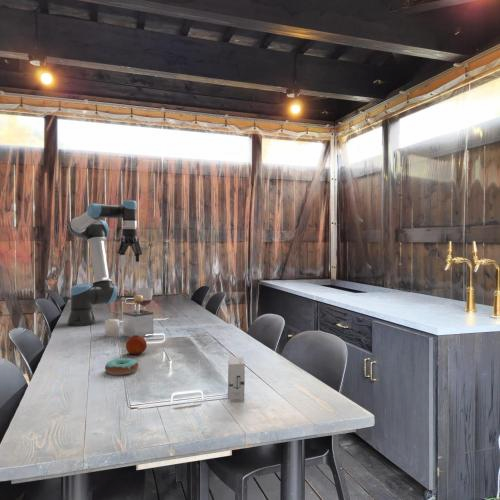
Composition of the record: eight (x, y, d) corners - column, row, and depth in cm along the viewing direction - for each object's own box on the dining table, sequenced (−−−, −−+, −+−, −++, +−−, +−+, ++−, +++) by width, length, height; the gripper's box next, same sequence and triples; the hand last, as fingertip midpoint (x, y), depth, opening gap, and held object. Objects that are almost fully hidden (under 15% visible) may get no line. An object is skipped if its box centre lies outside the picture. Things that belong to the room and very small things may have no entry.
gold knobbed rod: (128, 331, 222) (128, 295, 221) (140, 329, 227) (140, 294, 227) (136, 333, 217) (136, 297, 216) (148, 331, 222) (148, 295, 222)
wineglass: (148, 329, 236) (148, 290, 235) (132, 329, 238) (132, 289, 237) (155, 326, 244) (155, 288, 244) (139, 326, 246) (139, 288, 246)
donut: (111, 367, 166) (111, 356, 166) (142, 367, 166) (142, 357, 166) (99, 376, 154) (99, 365, 154) (132, 377, 154) (132, 366, 154)
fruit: (128, 357, 179) (128, 338, 179) (124, 352, 187) (124, 334, 187) (149, 354, 184) (149, 336, 183) (144, 350, 191) (144, 332, 191)
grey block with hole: (123, 335, 221) (123, 312, 221) (141, 332, 230) (141, 309, 229) (134, 338, 214) (134, 314, 214) (153, 335, 222) (153, 312, 222)
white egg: (102, 335, 222) (102, 320, 222) (114, 333, 227) (114, 318, 227) (109, 337, 217) (109, 321, 217) (122, 335, 222) (122, 319, 222)
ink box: (227, 392, 138) (227, 356, 138) (243, 392, 138) (243, 356, 138) (228, 402, 129) (228, 363, 129) (245, 402, 130) (245, 363, 130)
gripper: (111, 228, 241) (111, 266, 241) (136, 228, 224) (136, 268, 224) (123, 229, 246) (123, 265, 247) (148, 228, 229) (148, 268, 230)
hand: (129, 267), depth 236 cm, fingers open, 13 cm apart
